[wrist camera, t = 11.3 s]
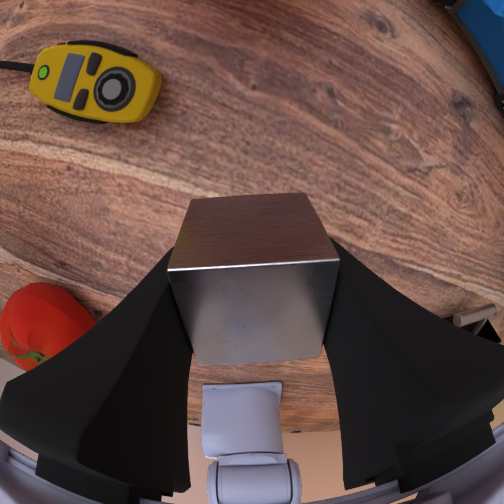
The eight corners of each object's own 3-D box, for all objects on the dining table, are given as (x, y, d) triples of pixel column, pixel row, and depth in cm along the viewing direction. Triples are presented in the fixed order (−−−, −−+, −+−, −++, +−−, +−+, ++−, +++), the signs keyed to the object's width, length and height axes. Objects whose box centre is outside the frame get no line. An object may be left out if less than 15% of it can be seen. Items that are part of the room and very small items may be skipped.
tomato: (123, 309, 22) (99, 380, 16) (91, 353, 26) (73, 407, 20) (30, 244, 18) (-16, 302, 12) (19, 305, 22) (-9, 354, 16)
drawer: (421, 296, 22) (448, 343, 17) (494, 281, 22) (520, 315, 17) (369, 390, 32) (379, 425, 28) (436, 371, 33) (448, 400, 28)
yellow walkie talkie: (132, 142, 13) (-25, 96, 8) (143, 135, 14) (-9, 92, 10) (167, 58, 10) (-9, 34, 6) (175, 61, 12) (8, 33, 7)
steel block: (206, 285, 12) (197, 366, 8) (190, 198, 9) (165, 270, 6) (300, 279, 12) (320, 358, 8) (305, 191, 9) (341, 259, 6)
